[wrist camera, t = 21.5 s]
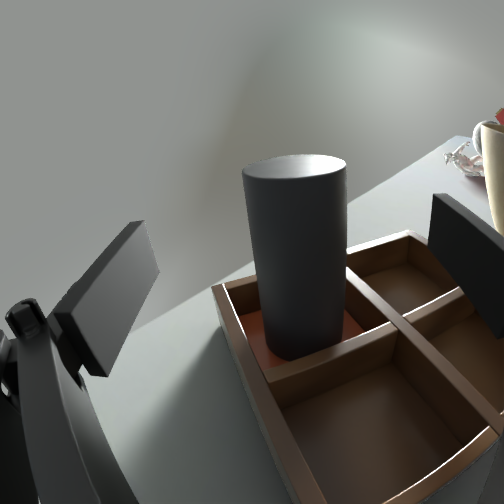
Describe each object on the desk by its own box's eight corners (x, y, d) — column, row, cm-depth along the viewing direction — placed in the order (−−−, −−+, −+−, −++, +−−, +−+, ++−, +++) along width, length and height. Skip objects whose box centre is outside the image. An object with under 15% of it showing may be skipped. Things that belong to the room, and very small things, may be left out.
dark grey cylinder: (282, 374, 15) (260, 186, 11) (255, 323, 19) (230, 164, 15) (356, 345, 16) (367, 167, 12) (320, 302, 20) (314, 151, 16)
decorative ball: (465, 154, 61) (465, 116, 56) (492, 156, 60) (493, 120, 55) (486, 164, 52) (488, 121, 48) (514, 166, 51) (516, 126, 46)
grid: (318, 556, 7) (324, 552, 6) (219, 322, 21) (210, 286, 20) (549, 378, 10) (572, 342, 9) (406, 261, 24) (410, 229, 23)
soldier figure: (499, 183, 44) (464, 165, 41) (483, 192, 48) (447, 177, 46) (488, 150, 46) (453, 129, 44) (474, 160, 50) (437, 143, 48)
